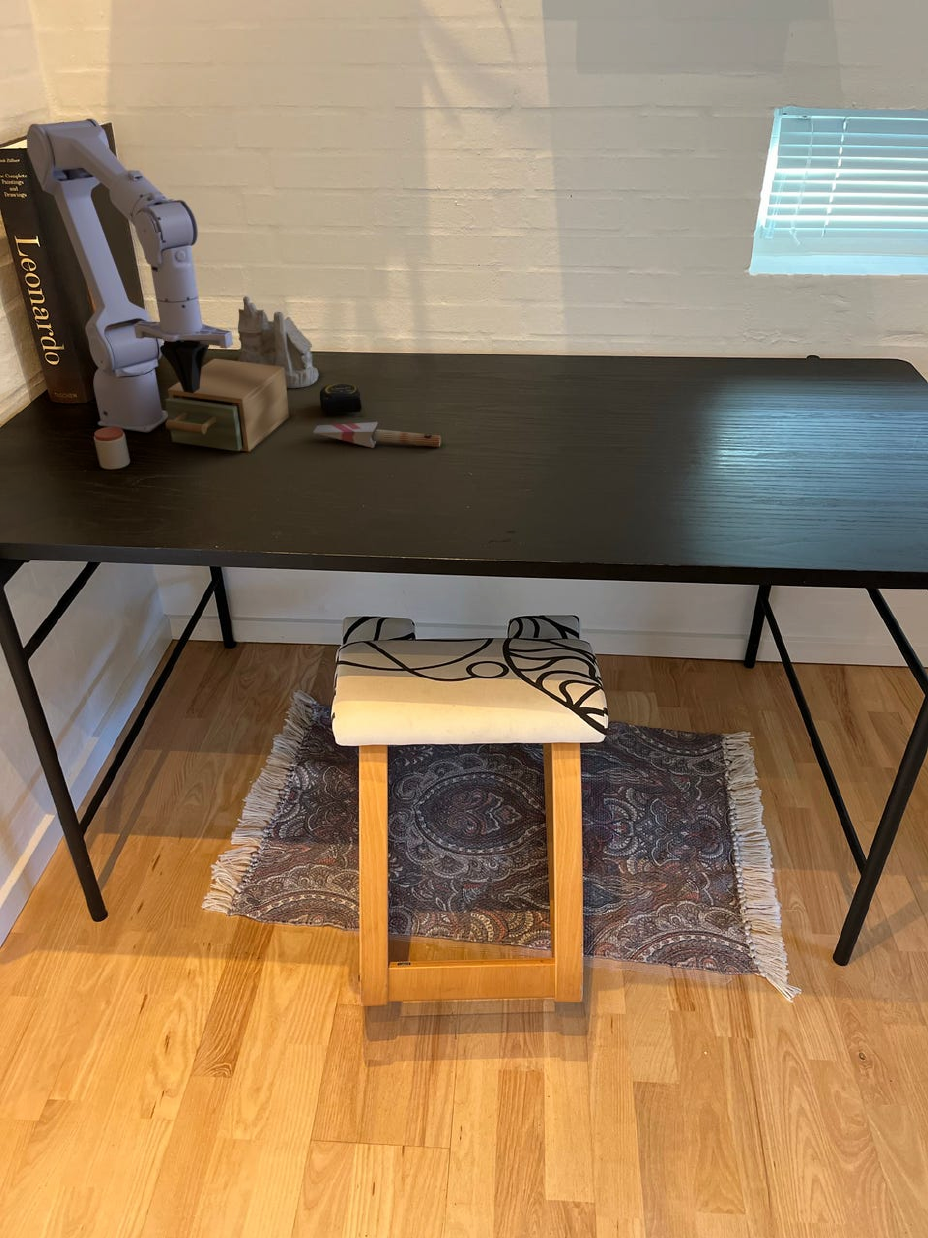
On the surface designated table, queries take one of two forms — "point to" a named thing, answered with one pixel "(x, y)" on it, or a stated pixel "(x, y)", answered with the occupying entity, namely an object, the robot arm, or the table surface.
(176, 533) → the table surface
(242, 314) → the ceramic cottage
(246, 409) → the cabinet
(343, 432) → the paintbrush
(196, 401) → the drawer
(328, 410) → the tape measure
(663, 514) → the table surface
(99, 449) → the paint pot
